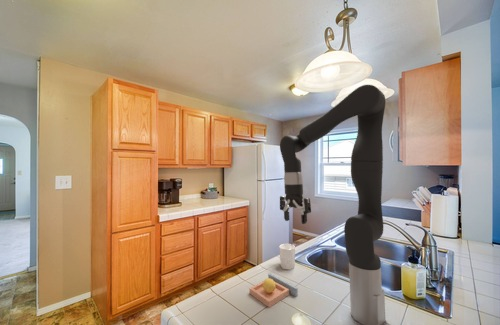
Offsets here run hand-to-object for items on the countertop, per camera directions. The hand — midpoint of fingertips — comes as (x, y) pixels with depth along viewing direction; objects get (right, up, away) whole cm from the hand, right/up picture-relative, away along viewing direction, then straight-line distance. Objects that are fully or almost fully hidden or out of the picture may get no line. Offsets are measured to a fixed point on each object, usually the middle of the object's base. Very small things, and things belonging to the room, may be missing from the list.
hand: (295, 222), depth 86 cm
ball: (-11, -24, -5) cm, 27 cm away
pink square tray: (-11, -27, -5) cm, 30 cm away
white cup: (0, -28, +17) cm, 33 cm away
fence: (-6, -27, -1) cm, 28 cm away
